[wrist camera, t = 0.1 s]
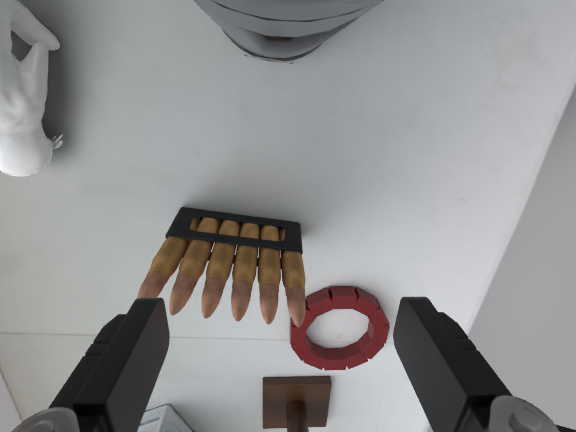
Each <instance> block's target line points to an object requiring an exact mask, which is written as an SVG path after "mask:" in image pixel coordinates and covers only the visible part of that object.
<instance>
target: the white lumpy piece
mask: <svg viewBox="0 0 576 432" xmlns="http://www.w3.org/2000/svg"><path fill="white" fill-rule="evenodd" d="M11 30H12V31H14V32H15V33H16V34H17V35H18V36H19V37H20V38H21V39H22V40H23V41H25V42H26V43H28V44H30V45H32V46H33V47H32V49H31V50H30V52H29V53H28V54H27V56H26V57H25V58H24V60H23V61H18V60H17V59H16V57H15V56H14V55H13V54H12V53H11V50H12V40H11ZM59 48H60V44H59V42H58V40H57V38H56V37H55V36H54V35H53V34H52V33H51V32H50V31H49V30H48V29H47V28H46V27H45V26H44V25H42V24H41V23H40V22H39V21H38V20H37V19H36V18H35V17H34V16H33V14H32V13H31V12H30V10H29V9H27V8H26V7H25V6H23V5H22V4H21V3H20V2H19V1H17V0H0V171H2V172H3V173H5V174H8V175H12V176H30V175H34V174H36V173H39V172H40V171H42V170H44V169H45V168H46V167H47V166H48V165H49V163H50V161H51V158H52V149H56V148H58V146H60V145H61V144H62V143H61V142H62V141H63V140H62V141H61V140H60V141H59V139H60V138H61V137H62V135H63V134H62V135H61V136H60V137H59V138H57V139H56V140H55V141H51V140H50V139H48V138H47V137H46V135H45V133H44V131H43V128H42V123H41V119H42V117H43V114H44V111H45V101H46V97H47V80H48V50H52V51H53V50H58V49H59ZM55 137H56V135H55V136H54V138H55ZM52 139H53V138H52ZM53 140H54V139H53ZM58 141H59V142H58ZM60 143H61V144H60Z"/></svg>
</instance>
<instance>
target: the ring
mask: <svg viewBox="0 0 576 432" xmlns="http://www.w3.org/2000/svg"><path fill="white" fill-rule="evenodd" d="M306 298H307V300H306V299H305V300H306V308H305V317H304V321H303V323H302V325H301V327H297V326H296V325H295V323H294V322H293V320H292V318H291V317H290V344H291V347H292V349H293V350H294V351H295V353H296V354H297V355H298V357H299V358H300V359H301V361H302V360H304V363H306V364H309V365H311V366H314V367H316V368H319V369H321V370H322V369H323V368H324V370H346V366H347V367H348V369H350V368H353V367H355V366H358V365H360V364H363V363H365V362H368V359H372V358H373V357H374V356H375V355H376V354H377V353H378V352H379V351H380V350H381V349H382V348H383V347H384V344H383V343H386V340H387V336H388V331H389V322H388V320H387V318H386V316H385V314H384V312H383V310H382V308H381V306H380V304H379V302H378V300H377V299H376V298H375V297H374V296H373V295H371V294H369V293H367V292H365V291H363V290H361V289H359V288H357V287H356V288H355V289H354V288H353V286H338V287H330V291H329V290H328V288H324V289H322V290H320V291H318V292H315V293H313V294H311V295H309V296H307V297H306ZM333 309H354V310H356V311H358V312H360V313H362V314H364V315H367V316H368V318H369V325H368V331H367V332H366V333H365V334H364V335H363V336H362V337H361V339H360V340H359V341H358V342H356V343H354V344H351V345H349V346H347V347H344V348H338V349H325V348H323V347H321V346H318V345H316V344H314V343H312V342H311V341H310V339H309V338H308V337H307V335H306V332H307V328H308V327H309V326H310V324H311V323H312V322H313V321H314V320H315V318H316V317H317V316H319V315H321V314H324V313H326V312H328V311H330V310H333ZM367 358H368V359H367Z"/></svg>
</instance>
